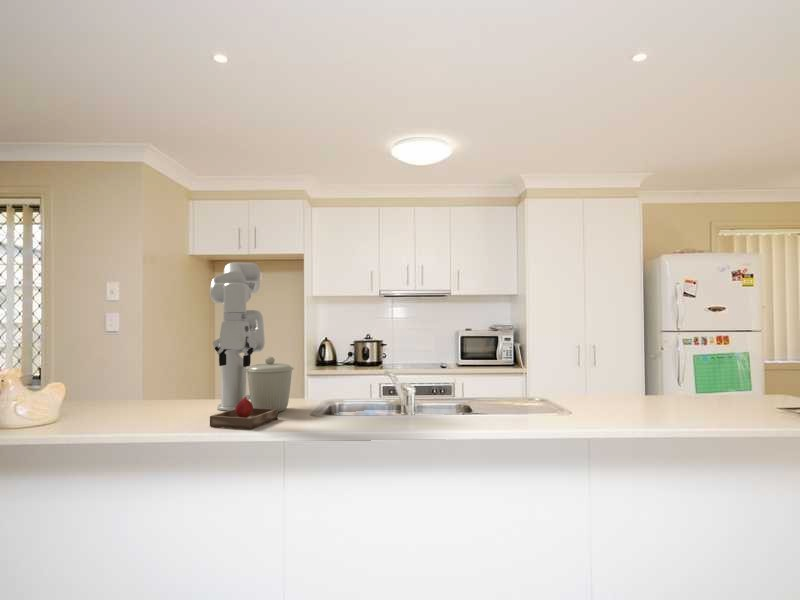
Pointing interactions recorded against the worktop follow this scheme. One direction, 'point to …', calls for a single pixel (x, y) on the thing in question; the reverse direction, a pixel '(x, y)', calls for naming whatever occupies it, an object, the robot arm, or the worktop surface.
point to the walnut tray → (244, 419)
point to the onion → (244, 408)
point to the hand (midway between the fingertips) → (234, 365)
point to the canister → (269, 384)
